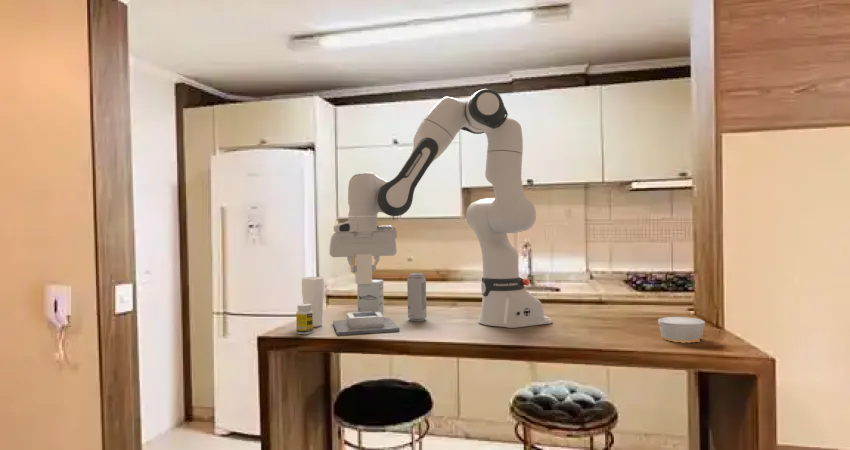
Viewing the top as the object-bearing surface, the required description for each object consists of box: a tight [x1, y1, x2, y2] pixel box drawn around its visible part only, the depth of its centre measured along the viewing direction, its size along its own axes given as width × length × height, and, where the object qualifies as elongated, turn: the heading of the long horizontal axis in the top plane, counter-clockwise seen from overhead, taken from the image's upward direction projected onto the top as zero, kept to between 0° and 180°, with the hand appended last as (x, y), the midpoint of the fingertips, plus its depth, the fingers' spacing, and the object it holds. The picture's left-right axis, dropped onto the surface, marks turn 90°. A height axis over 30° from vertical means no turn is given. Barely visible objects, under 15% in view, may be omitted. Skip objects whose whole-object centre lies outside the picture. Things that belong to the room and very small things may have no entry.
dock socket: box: [332, 311, 401, 336], centre depth 172 cm, size 18×18×4 cm
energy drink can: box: [406, 272, 427, 322], centre depth 183 cm, size 6×6×15 cm
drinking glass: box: [301, 276, 325, 328], centre depth 176 cm, size 7×7×15 cm
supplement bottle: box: [295, 303, 314, 335], centre depth 166 cm, size 5×5×8 cm
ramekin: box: [657, 316, 706, 340], centre depth 149 cm, size 11×11×5 cm
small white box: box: [354, 254, 373, 285], centre depth 172 cm, size 4×4×9 cm
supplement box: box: [356, 279, 384, 316], centre depth 188 cm, size 7×7×13 cm
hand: (363, 271), depth 172 cm, fingers closed on small white box, 4 cm apart
